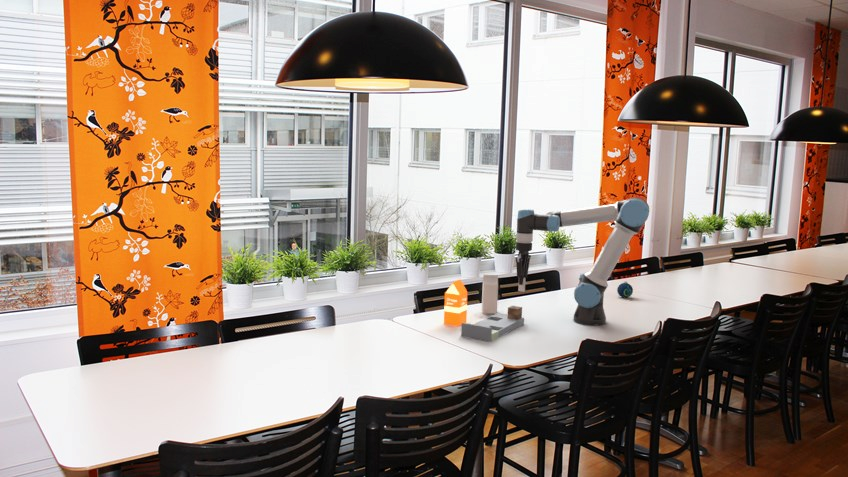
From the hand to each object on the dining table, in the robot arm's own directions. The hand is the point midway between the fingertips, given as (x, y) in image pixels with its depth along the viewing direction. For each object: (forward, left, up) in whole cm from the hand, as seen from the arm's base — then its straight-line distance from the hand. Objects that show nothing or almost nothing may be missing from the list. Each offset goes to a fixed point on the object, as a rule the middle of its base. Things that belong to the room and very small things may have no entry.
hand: (521, 291), depth 314 cm
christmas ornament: (-28, -83, -15) cm, 89 cm away
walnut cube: (0, +7, -12) cm, 14 cm away
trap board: (+3, +22, -14) cm, 26 cm away
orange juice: (+23, +22, -15) cm, 35 cm away
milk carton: (+19, -6, -15) cm, 25 cm away
